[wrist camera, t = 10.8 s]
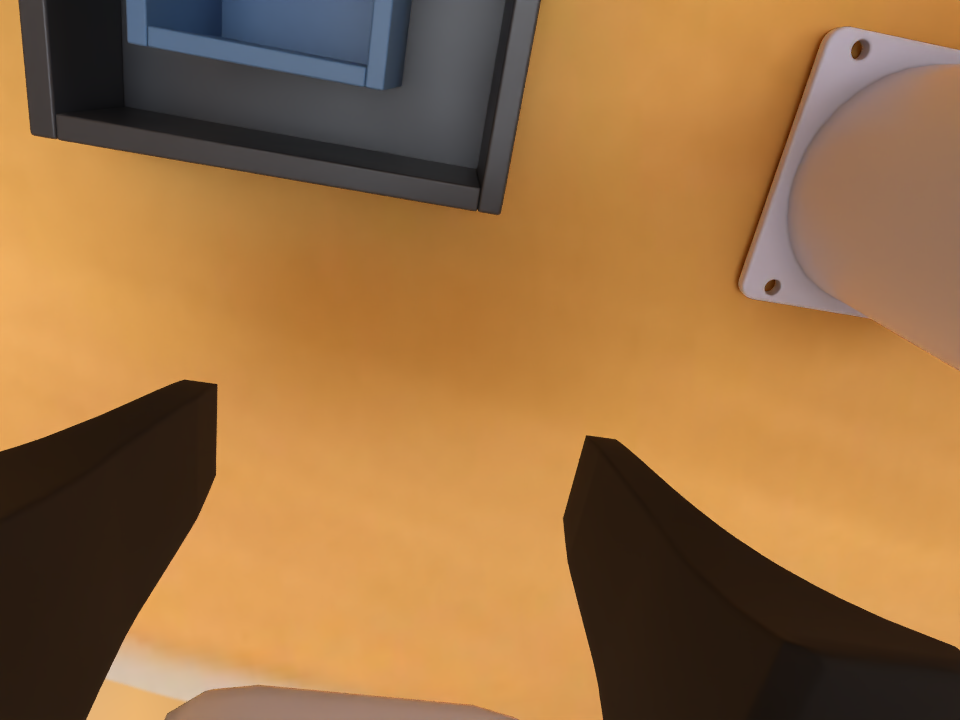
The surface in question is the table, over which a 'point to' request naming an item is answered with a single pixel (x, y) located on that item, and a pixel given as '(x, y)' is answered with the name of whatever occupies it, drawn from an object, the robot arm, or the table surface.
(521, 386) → the table surface
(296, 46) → the blue bin
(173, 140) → the charcoal bin
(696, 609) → the robot arm
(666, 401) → the table surface
